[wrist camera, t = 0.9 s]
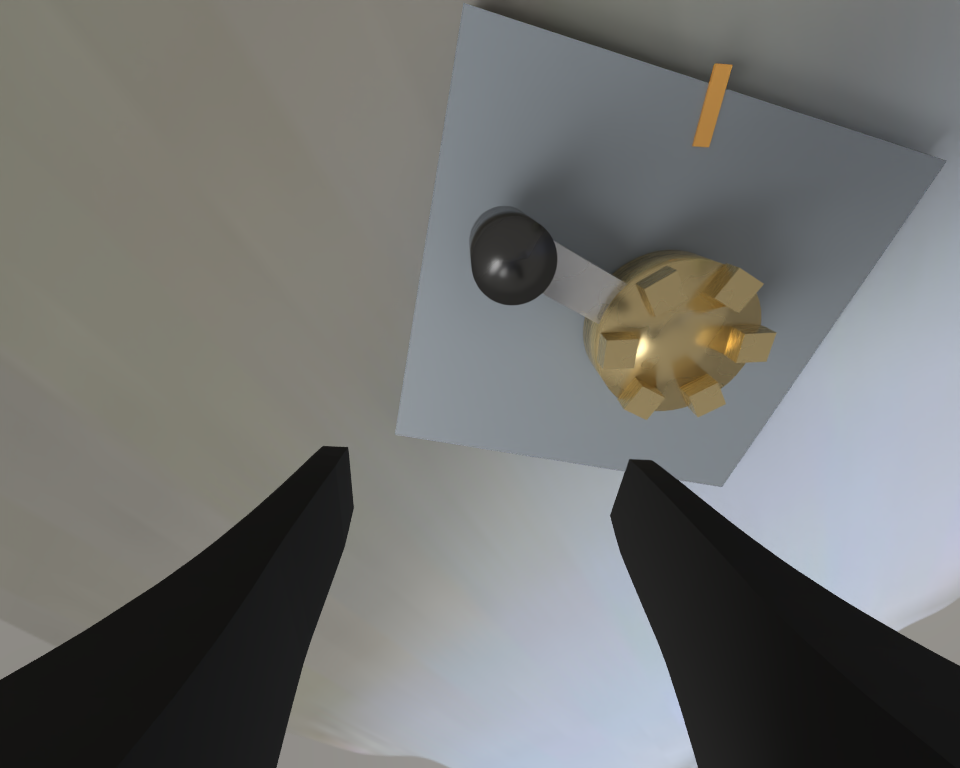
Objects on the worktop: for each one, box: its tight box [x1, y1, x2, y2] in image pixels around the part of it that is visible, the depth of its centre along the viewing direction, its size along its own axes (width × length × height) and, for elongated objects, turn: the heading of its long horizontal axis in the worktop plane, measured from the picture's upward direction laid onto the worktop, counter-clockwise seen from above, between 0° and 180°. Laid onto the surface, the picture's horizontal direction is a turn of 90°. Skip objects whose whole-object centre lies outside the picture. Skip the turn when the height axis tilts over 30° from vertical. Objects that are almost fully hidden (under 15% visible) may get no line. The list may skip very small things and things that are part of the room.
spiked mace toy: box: [469, 206, 776, 420], centre depth 14 cm, size 12×6×5 cm, turn 62°
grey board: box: [395, 3, 946, 487], centre depth 18 cm, size 19×18×2 cm
